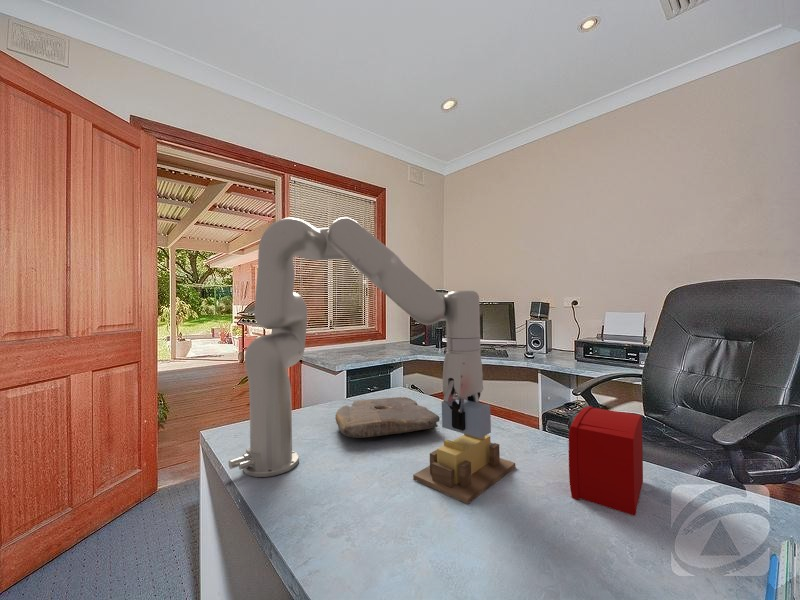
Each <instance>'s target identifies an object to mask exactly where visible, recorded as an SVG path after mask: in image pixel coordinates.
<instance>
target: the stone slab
mask: <svg viewBox="0 0 800 600" xmlns="http://www.w3.org/2000/svg"><path fill="white" fill-rule="evenodd" d="M335 422H336V425H337V427H338V429H339V431H340V433H341V434H342V435H343V436H345V437H350V438H353V439H354V438H355V439H363V438H372V437H380V436H388V435H395V434H404V433H411V432H416V431H423V430H425V431H426V430H429V429H434V428H438V427H439V425H438V424H437V423H438V422H440V416H439V415H438V414H436V412H433V411H431V410H429V409H428V408H427V407H426V406H422V405H419V404H418V403H417V401H416V400H414V399H412V398H409V397H405V396H404V397H402V396H399V397H384V398H374V399H372V398H371V399H362V400H361V399H360V400H354V401H353V403H352V404H351V406H349V405H343V406H341V407H340V408H339V409H337V412H336V413H335Z"/></svg>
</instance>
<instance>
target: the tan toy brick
mask: <svg viewBox="0 0 800 600" xmlns="http://www.w3.org/2000/svg"><path fill="white" fill-rule="evenodd" d="M490 443H491V435H489V434H487V435H485V436H484V437H482V438H477V437H473V436H470V435H467V434H462V435H461V436H459V437H457V438H455V439H453V440H449V439H444V440H443V445H441V446H440V447H437V448H436V450H437V463H439V464H441V465H444V466H447V467H449V468H452V469H454V484H456V485H457V484H458V483H460V478H459V464H461V463H462V462H464V461H466V460H467V461H469V462H471V475H472V474H473V473H474V472H476V471H477V470H479V469H480V468H482V467H483V466H485V465H486V464H488V463H489V462H490V459H489V446H490V445H491V444H490Z"/></svg>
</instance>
